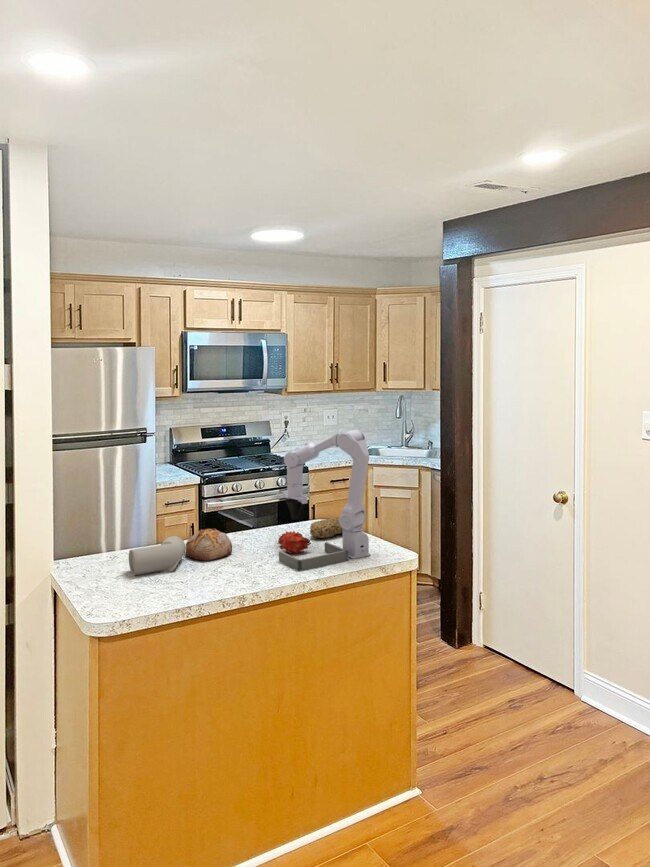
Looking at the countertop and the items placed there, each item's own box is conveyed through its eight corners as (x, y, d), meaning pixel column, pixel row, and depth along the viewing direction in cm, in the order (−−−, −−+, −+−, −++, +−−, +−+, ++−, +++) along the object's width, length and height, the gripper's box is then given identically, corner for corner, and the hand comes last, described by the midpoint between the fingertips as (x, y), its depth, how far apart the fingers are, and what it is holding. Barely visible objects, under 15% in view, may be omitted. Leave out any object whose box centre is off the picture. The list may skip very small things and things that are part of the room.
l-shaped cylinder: (181, 574, 226) (192, 555, 245) (172, 543, 224) (184, 526, 244) (127, 586, 226) (143, 567, 246) (119, 555, 225) (135, 538, 244)
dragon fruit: (275, 555, 253) (308, 560, 253) (275, 548, 246) (309, 553, 246) (279, 533, 257) (312, 538, 257) (279, 525, 250) (312, 530, 250)
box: (348, 560, 242) (348, 550, 242) (298, 571, 231) (298, 560, 231) (326, 551, 253) (326, 542, 252) (278, 561, 242) (278, 551, 241)
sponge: (345, 531, 285) (300, 526, 277) (350, 513, 284) (305, 508, 275) (358, 545, 273) (312, 541, 265) (364, 526, 272) (317, 521, 263)
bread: (185, 566, 241) (182, 538, 239) (188, 549, 260) (185, 523, 259) (233, 561, 243) (230, 533, 242) (232, 544, 262) (230, 518, 261)
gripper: (275, 481, 263) (276, 516, 265) (295, 487, 251) (296, 524, 253) (292, 479, 267) (292, 514, 269) (312, 485, 255) (312, 522, 257)
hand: (295, 519), depth 261 cm, fingers closed
